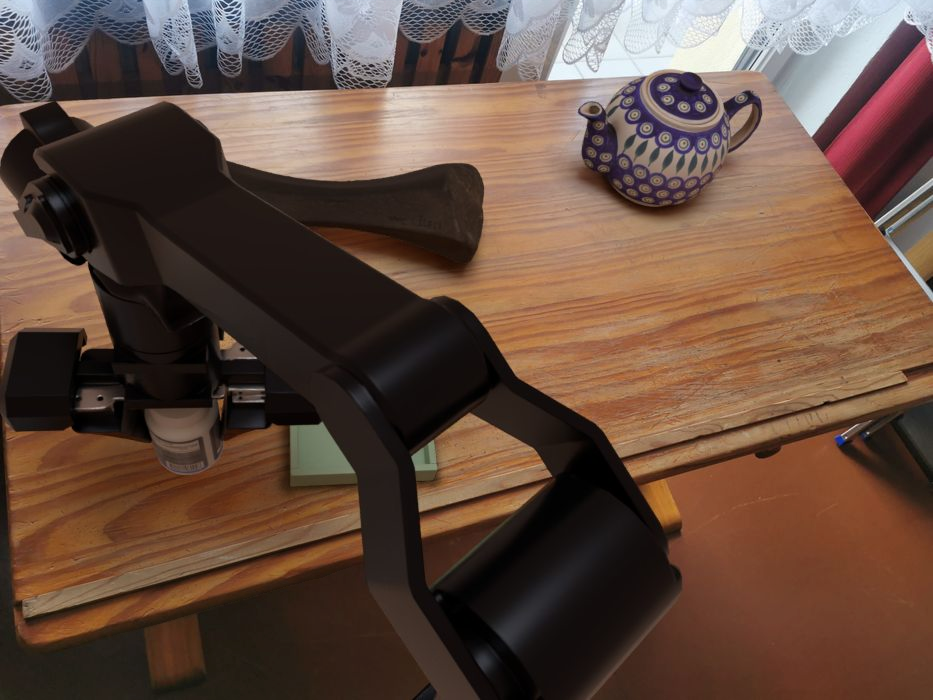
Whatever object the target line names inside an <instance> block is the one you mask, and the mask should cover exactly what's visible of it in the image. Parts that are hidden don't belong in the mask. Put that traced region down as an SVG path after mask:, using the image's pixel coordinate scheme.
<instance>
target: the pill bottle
mask: <svg viewBox="0 0 933 700" xmlns="http://www.w3.org/2000/svg"><path fill="white" fill-rule="evenodd" d="M145 421H146V424H147V427H148V430H149V433H150V436H151V439H152V442H151V444H152V445H153V448H154V451H155V454H156V457H157V459H158V461H159V463H160V464H161V465H162V466H163V467H164V468H165V469H166V470H168V471H169V472H171V473H174V474H176V475H180V476H181V475H182V476H192V475H197V474H200V473H202V472H204V471H207V470H208V469H210V468H211V467H213V466H214V465H215V464H216V463H217V461H218V460H220V457H221V455H222V453H223V449H224V443H225V441H222V440H221V439H220V432H221V413H220V406H219V400H213V406H212V408H172V409H145Z"/></svg>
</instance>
